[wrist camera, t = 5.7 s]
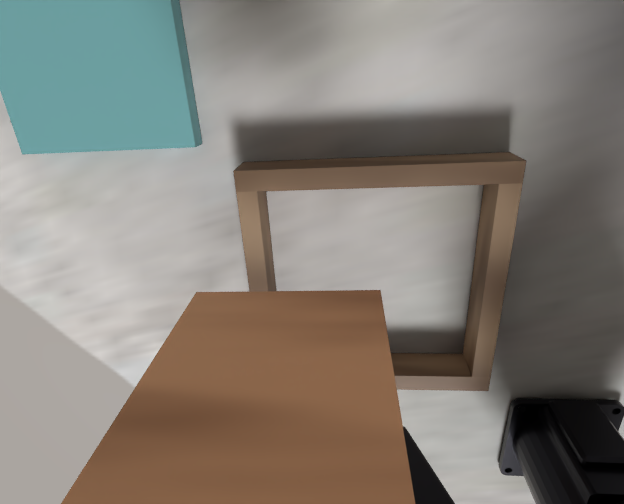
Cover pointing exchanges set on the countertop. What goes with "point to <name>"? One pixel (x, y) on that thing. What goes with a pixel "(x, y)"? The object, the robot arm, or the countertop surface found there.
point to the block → (260, 408)
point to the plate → (96, 75)
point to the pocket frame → (405, 173)
